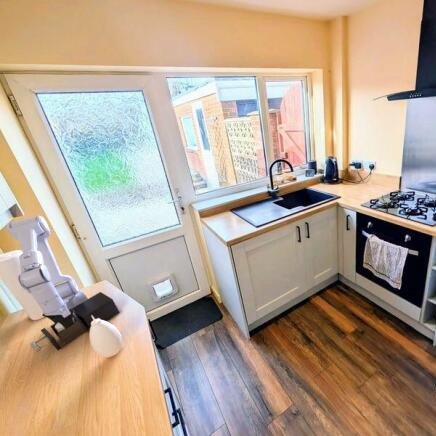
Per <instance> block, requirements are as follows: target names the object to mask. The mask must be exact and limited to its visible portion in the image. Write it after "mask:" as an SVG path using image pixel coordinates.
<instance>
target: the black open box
mask: <svg viewBox="0 0 436 436" xmlns="http://www.w3.org/2000/svg"><path fill="white" fill-rule="evenodd" d="M73 319H74V320H75V322H74V323H73V324H72V325H71V326H69V327H68V328H65V329H63V330H62V331H60V332H58V331H57V330H56V328H55V325H56V324H55V323H53V324H51V325H49V327H50V328H51V330H52V331H53V333H54V334H55V336H56V337H57V338H58V339H59V340H60V341H61V342H62V343H63V344H64V345H66V344H68V343H69V342H70V341H72V340H73V339H76V337H78V336H80V335H82V334H83V333H84V332H86V331H87V330H88V328H87V327H86V326H84V325H83V323H82V321H81V320H80V319H79V318H77V317H76V316H75V315H74V314H73ZM40 332H41V333H42V335H43V336H42V337H40V338H39V339H37V340H36V341H31V342H30V344H29V345H30V347H31V348H32V349H33V350H34V352H35V353H40V352H41V351H42V349H44V348H45V347H46V346H48V345H49V344H51V345H52V346H53V348H55V350H57V351H60V350H62V346H61V345H60V343H59V342H58V340H57V339H56V338H55V336H54V335H53V334H51V333H50V331H48V329H46V328H45V327H44V328H41V329H40ZM45 339H46V340H47V342H45V343H44V344H42V345H41V346H40V345H38V343H40V342H41V341H43V340H45Z"/></svg>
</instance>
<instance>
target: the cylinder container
mask: <svg viewBox="0 0 436 436" xmlns="http://www.w3.org/2000/svg"><path fill="white" fill-rule="evenodd" d="M22 253H23V252H22V249H15V250H11V251H7V252H5V253H2V254H0V280H1V281H2V283H3V284H4V285H5V287H6V288H7V289H8V290H9V292H10V293H11V295H12V296H13V297H14V298H15V300H16V301H17V303H18V304H19V305H20V306H21V308H22V309H23V311H24V312H25V313H26V314H27V316H28V317H29V319H30V320H32V321H38V320H41V319H43V318H45V317H44V316H42V315H43V314H44V313H43V310H42V309H41V307H40V306H39V304H38V303H37V301H36V300H35V298H34V297H33V296H32V294H31V293H28V292H27V291H26V290H25V289H24V288H23V287H22V286H21V285H20V283H19V280H18V276H19V275H21V268H20V261H19V256H20V255H21V254H22Z"/></svg>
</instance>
